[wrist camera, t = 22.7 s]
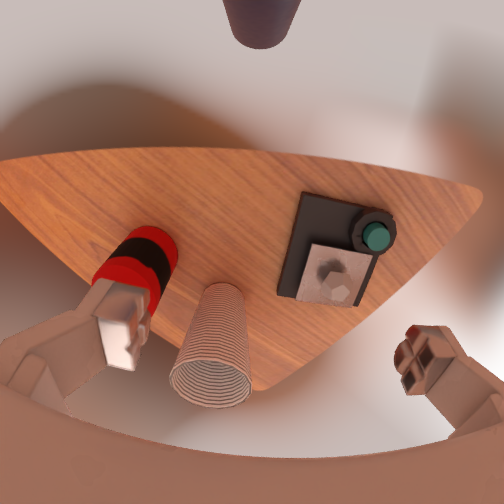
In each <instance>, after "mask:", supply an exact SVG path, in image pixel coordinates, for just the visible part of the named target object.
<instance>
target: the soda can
mask: <svg viewBox="0 0 504 504" xmlns="http://www.w3.org/2000/svg"><path fill="white" fill-rule="evenodd" d="M177 259H178V253H177V248H176V246H175V244H174V242H173V240H172V239H171V238H170V236H168V235H167V234H166V233H165V232H163V231H162V230H160V229H158V228H155V227H150V226H144V227H140V228H137V229H135V230H134V231H132V232H131V233H130V234H129V235H128V236H127V238H126V239H125V240H124V241H123V242H122V243H121V244H120V245H119V246H118V248H117V249H116V250H115V251H114V252H113V253H112V254H111V256H110V257H109V258H108V259H107V260H106V261H105V263H104V264H103V265H102V266H101V267H100V268H99V270H98V271H97V272H96V273H95V275H94V277H93V279H92V285H91V286H93V285H94V283H95V282H96V281H97V280H98V279H100V278H104V279H108V280H112V281H117V282H122V283H126V284H130V285H134V286H139V287H143V288H148V289H149V291H150V302H149V304H148V307H147V309H148V310H149V312H150V313H151V317H152V316H153V314H154V312H155V310H156V308H157V305H158V303H159V301H160V299H161V296H162V294H163V292H164V290H165V288H166V285H167V283H168V281H169V279H170V277H171V275H172V273H173V270H174V268H175V266H176V264H177Z"/></svg>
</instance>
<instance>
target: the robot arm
mask: <svg viewBox="0 0 504 504" xmlns="http://www.w3.org/2000/svg"><path fill="white" fill-rule="evenodd" d="M149 302H150V291H149V289H148V288H143V287H139V286H134V285H130V284H126V283H122V282H117V281H112V280H108V279H104V278H100V279H98V280H97V281H96V282H95V283H94V285H93V286H92V287H91V289H90V290H89V291H88V293H87V294H86V296H85V297H84V298H83V300H82V301H81V302H80V304H79V305H78V307H77V308H76V309H75V311H73V310H68V311H66V312H64V313H62V314H59V315H57V316H55V317H53V318H50V319H48V320H46V321H44V322H41V323H39V324H37V325H35V326H33V327H30V328H28V329H26V330H24V331H22V332H19V333H17V334H15V335H13V336H11V337H8V338H6V339H4V340H3V341H2V343H1V344H0V504H504V382H503V381H501V380H500V379H499V378H498V377H496V376H495V375H494V374H493V373H491V372H490V371H489V370H487V369H486V368H485V367H483V366H482V365H481V364H479V363H478V362H477V361H475V360H474V359H473V358H472V357H468V356H467V355H466V353H465V352H464V350H463V348H462V347H461V345H460V344H459V342H458V341H457V339H456V338H455V336H454V335H453V333H452V331H451V330H450V328H448V327H447V326H424V325H412V326H411V327H410V328H409V329H408V330H407V332H406V334H405V335H406V339H405V340H404V341H403V342H401V343H400V344H399V345H398V347H397V349H396V351H395V355H394V365H395V368H396V370H397V371H398V372H399V373H400V374H401V375H402V378H401V383H402V385H403V388H404V390H405V393H406V395H424V394H426V395H425V396H426V397H427V398H428V399H429V400H430V401H431V403H432V404H433V405H434V406H435V407H436V408H437V409H438V410H439V411H440V413H441V414H442V415H443V416H444V417H445V418H446V419H447V420H448V421H449V423H450V424H451V425H452V426H453V427H454V428H455V429H456V430H455V431H454V432H453V433H452V434H451V435H450V436H449V437H448V439H447V440H443V441H439V442H435V443H431V444H426V445H421V446H417V447H412V448H407V449H400V450H394V451H388V452H381V453H373V454H365V455H354V456H342V457H326V458H269V457H252V456H239V455H230V454H221V453H213V452H206V451H199V450H193V449H187V448H182V447H176V446H171V445H166V444H162V443H157V442H153V441H149V440H144V439H140V438H137V437H133V436H129V435H126V434H122V433H118V432H115V431H112V430H109V429H105V428H102V427H99V426H96V425H94V424H90V423H87V422H85V421H82V420H79V419H77V418H74V417H73V416H72V413H71V411H70V410H69V408H68V406H67V404H66V402H65V401H64V398H66V397H67V396H68V395H70V394H71V393H72V392H74V391H75V390H76V389H78V388H79V387H80V386H81V385H83V384H84V383H86V382H87V381H88V380H89V379H91V378H92V377H94V376H95V375H96V374H97V373H99V372H100V371H102V370H103V369H104V368H106V367H107V365H108V366H113V367H117V368H121V369H125V370H129V371H135V369H136V367H137V364H138V361H139V359H140V356H141V349H140V346H142V345H144V344H145V343H146V340H147V338H148V334H149V330H150V322H151V313H150V312H149V310H148V309H147V307H148V304H149Z"/></svg>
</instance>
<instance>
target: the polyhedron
mask: <svg viewBox="0 0 504 504" xmlns="http://www.w3.org/2000/svg"><path fill="white" fill-rule="evenodd" d="M352 287H353V283H352V280H351V278H350V275H349V274H346V273H340V272H333V271H330V273H329V274H328V276H327V277H326V279H325V280H324V281H323V283H322V284H321V286H320V288H321V290H322V293H323V295H324V298H327V299H330V300H336V301H344V299H345V298H346V297H347V295H348V294H349V293H350V291H351V289H352Z"/></svg>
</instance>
